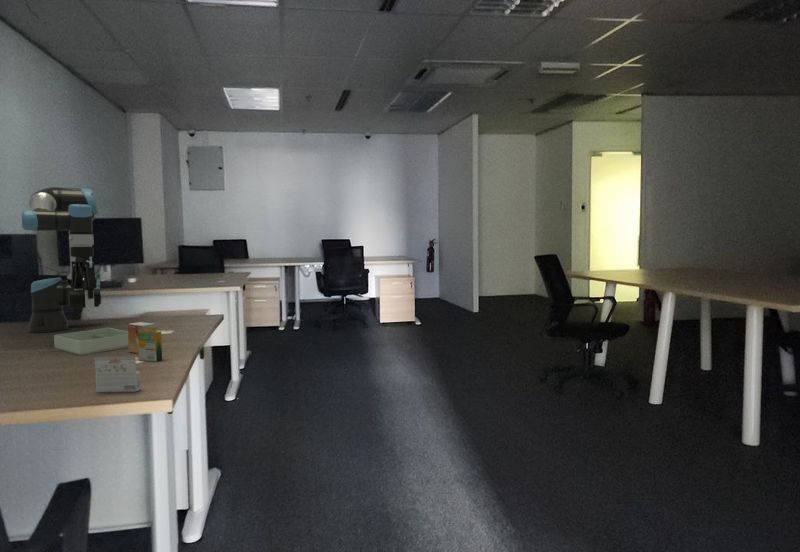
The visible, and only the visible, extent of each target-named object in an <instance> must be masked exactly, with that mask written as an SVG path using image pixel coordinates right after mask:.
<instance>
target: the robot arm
mask: <svg viewBox="0 0 800 552" xmlns="http://www.w3.org/2000/svg"><path fill="white" fill-rule="evenodd" d="M95 196H96V195H95V192H94V190H92V189H90V188H84V187H58V186H56V187H55V186H53V187H52V186H50V187H46V188H42V189H40V190H37V191H35V192H34V193H33V194H31V195H30V197H29V200H28V205H29V208H30V209H28V210H27V209H25V210H22V211H21V226H22V229H23V230H24V231H33V232H36V231H41V232H42V231H47V232H48V231H56V232H59V231H61V232H62V231H65V232H66V231H67V232H68V241H69V261H70V263H69V265H70V273H69V274H68V275H67V277H66V280H63V279H62V277H52V278H51V277H50V278H45V279H39V280H36V281H33V282H31V284H30V293H31V295H30V296H31V316H30V319H29V323H28V325H27V331H28V332H29V333H50V332H58V331H59V332H60V331H64V330H68V329H69V323H68V320H67V318H66V315H65V314H64V313H65V312H64V308H63V307H64V306H66V307H69V296H68V291H71V290H85V305H86V308H85V309H91V308H95V307H94V289H99V290H100V289H101V281H100V279H98V278H97V275H96V270H95V261H93V257H94V256H95V248H94V243H95V242H94V241H95V240H94V232H93V230H94V227H93V225H94V224H93V221H94V220H95V216H96V215H98V214H99V213H98V206H97V201H96V197H95ZM100 291H101V290H100Z"/></svg>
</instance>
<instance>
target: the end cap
mask: <svg viewBox="0 0 800 552" xmlns="http://www.w3.org/2000/svg"><path fill="white" fill-rule="evenodd" d="M68 296H69V306H68V307H69V309H73V310H74V309H87V308H86V305H85V290H71V291H68ZM101 303H102V296H101V290H99V289H94V307H93V308H96V307H100V305H101Z"/></svg>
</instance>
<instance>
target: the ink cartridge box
mask: <svg viewBox="0 0 800 552" xmlns="http://www.w3.org/2000/svg"><path fill="white" fill-rule="evenodd" d="M93 357H94V358H93V359H94V360H93V361H94V367H95V369H94V370H95V380H94V381H95V392H96V393H115V392H116V393H119V392H121V393H123V392H124V393H127V392H131V393H132V392H138V391H140V390H141V371H139V370H137V365H136V364H137V362H136V356H135V355H134V356H132V355H131V356H127V355H126V356H93ZM113 360H117V361H120V362H118V363H117V362H114V363H113V362H111V361H113ZM110 362H111V363H110Z"/></svg>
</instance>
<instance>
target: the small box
mask: <svg viewBox="0 0 800 552" xmlns="http://www.w3.org/2000/svg"><path fill="white" fill-rule="evenodd" d="M138 327H155V328H156V323H152V322H151V323H150V322H143V321H139V322H133V323H127V332H128V347H129V348H128V352H129V353H133V354H138V355H139V351H138ZM143 331H150V329H147V328H146V329H143Z"/></svg>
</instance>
